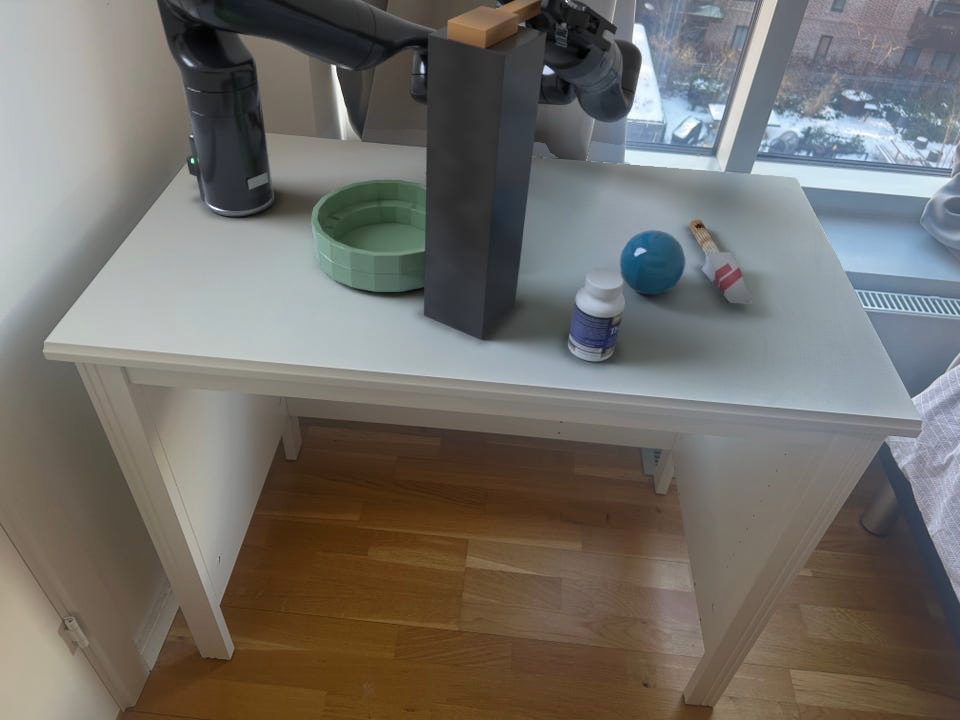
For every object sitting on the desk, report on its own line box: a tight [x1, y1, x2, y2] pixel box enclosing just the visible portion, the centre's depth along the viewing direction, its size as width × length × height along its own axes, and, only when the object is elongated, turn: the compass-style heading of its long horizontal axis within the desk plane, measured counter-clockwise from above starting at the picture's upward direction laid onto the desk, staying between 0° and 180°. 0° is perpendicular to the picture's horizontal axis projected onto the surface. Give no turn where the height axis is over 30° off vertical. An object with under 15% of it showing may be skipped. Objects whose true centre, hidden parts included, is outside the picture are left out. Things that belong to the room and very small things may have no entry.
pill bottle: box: [567, 267, 626, 362], centre depth 82 cm, size 5×5×10 cm
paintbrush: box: [689, 218, 753, 304], centre depth 99 cm, size 4×3×20 cm
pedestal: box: [423, 25, 546, 341], centre depth 79 cm, size 8×8×32 cm
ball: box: [619, 229, 686, 296], centre depth 92 cm, size 8×8×8 cm
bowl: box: [310, 179, 426, 293], centre depth 95 cm, size 19×19×6 cm
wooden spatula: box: [447, 0, 542, 49], centre depth 70 cm, size 16×4×2 cm, turn 149°
